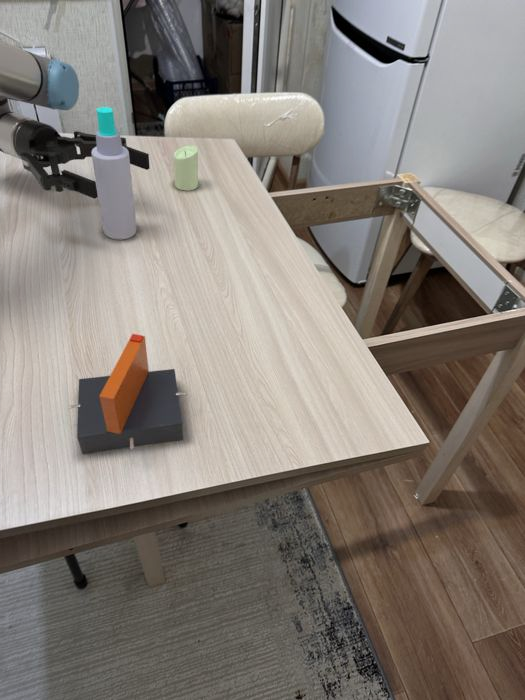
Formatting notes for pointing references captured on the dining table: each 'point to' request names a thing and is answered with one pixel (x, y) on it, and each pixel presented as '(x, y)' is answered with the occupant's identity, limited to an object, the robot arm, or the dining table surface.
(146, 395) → the dark square tile
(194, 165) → the candle
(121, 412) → the orange toy brick
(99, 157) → the spray bottle
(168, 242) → the dining table surface
